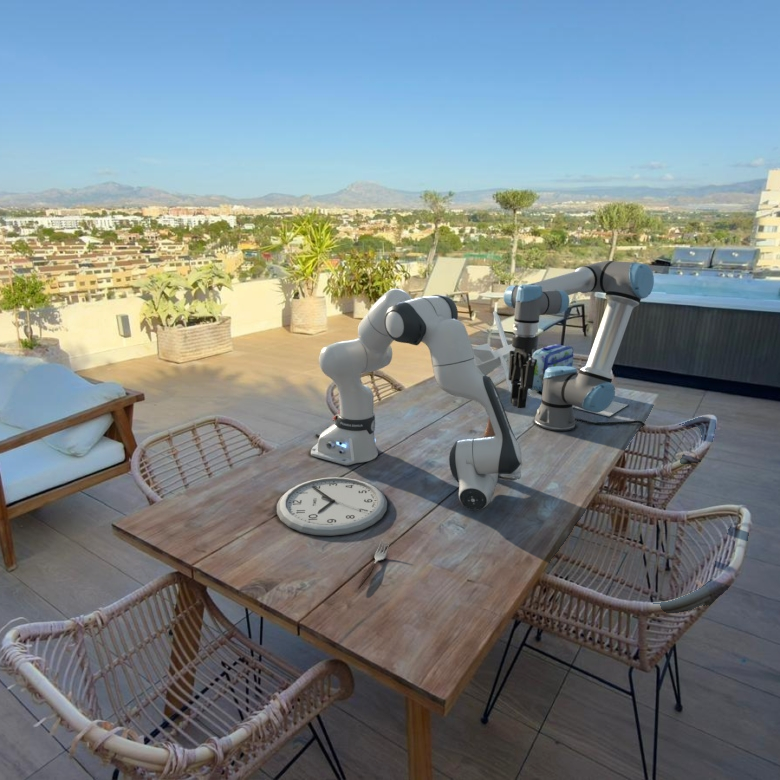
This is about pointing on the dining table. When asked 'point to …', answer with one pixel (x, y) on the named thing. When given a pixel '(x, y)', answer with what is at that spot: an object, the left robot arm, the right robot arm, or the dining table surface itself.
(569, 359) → the lunch box
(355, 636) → the dining table surface
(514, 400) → the cap
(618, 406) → the invitation card
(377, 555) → the fork
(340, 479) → the wall clock
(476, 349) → the white plastic object
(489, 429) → the bottle
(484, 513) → the dining table surface
